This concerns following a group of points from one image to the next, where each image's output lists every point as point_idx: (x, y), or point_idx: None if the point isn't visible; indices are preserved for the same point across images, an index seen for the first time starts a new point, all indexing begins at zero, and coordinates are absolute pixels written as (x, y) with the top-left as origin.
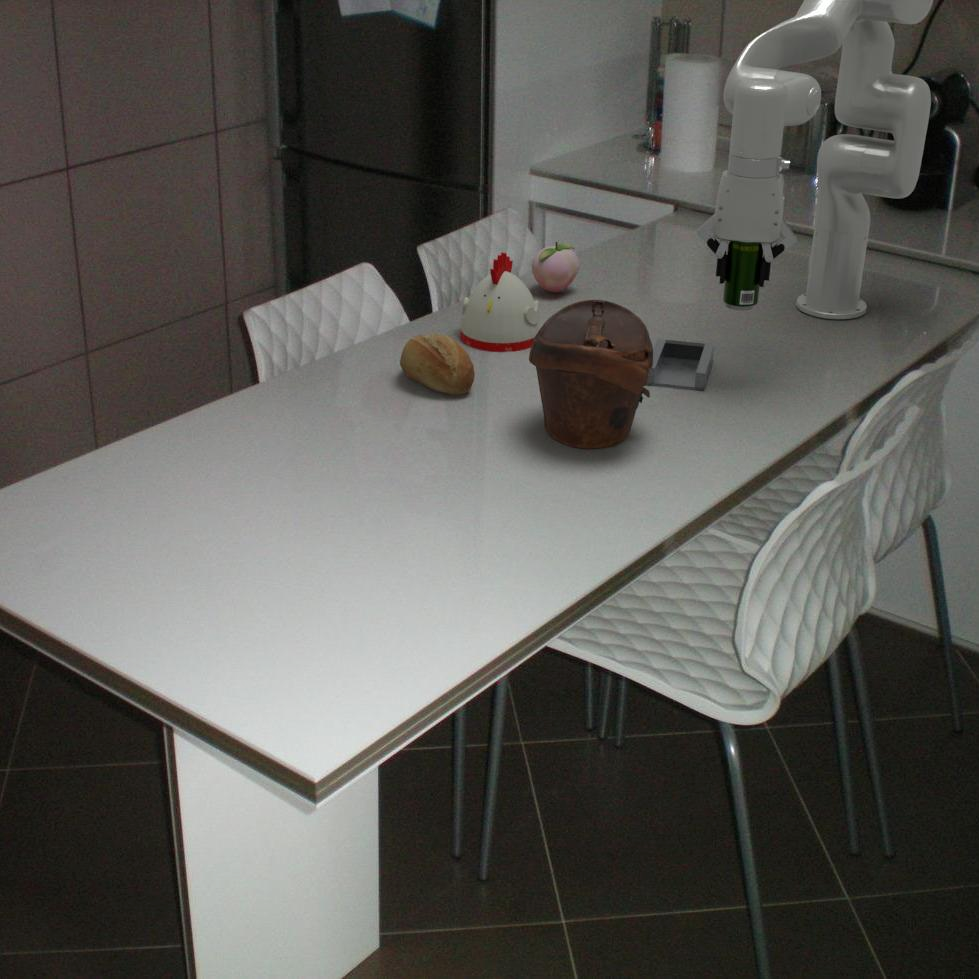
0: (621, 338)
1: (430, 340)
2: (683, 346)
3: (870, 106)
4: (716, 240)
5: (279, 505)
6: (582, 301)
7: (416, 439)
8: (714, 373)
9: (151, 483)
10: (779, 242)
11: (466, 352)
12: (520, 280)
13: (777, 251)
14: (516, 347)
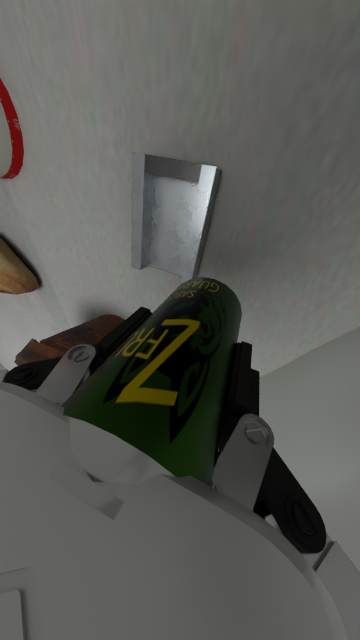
0: None
1: None
2: (170, 177)
3: None
4: (37, 387)
5: None
6: (18, 365)
7: (50, 333)
8: (216, 223)
9: (6, 350)
10: (290, 542)
11: (3, 276)
12: None
13: (263, 501)
14: (15, 171)
